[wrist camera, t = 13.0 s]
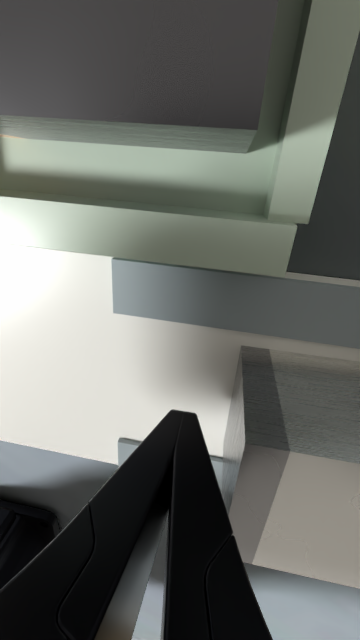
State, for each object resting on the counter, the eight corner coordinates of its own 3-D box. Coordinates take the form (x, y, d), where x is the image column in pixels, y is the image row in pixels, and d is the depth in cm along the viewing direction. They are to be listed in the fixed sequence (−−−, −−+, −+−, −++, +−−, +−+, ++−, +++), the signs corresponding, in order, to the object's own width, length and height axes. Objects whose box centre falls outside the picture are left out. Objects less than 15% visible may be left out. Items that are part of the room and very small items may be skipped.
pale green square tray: (281, 264, 8) (296, 291, 6) (-21, 228, 9) (-88, 242, 7) (447, -425, 4) (667, -1043, 2) (-152, -339, 5) (-403, -674, 3)
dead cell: (406, 474, 9) (491, 618, 6) (223, 441, 10) (218, 556, 7) (469, 376, 8) (630, 512, 5) (241, 345, 8) (245, 443, 5)
